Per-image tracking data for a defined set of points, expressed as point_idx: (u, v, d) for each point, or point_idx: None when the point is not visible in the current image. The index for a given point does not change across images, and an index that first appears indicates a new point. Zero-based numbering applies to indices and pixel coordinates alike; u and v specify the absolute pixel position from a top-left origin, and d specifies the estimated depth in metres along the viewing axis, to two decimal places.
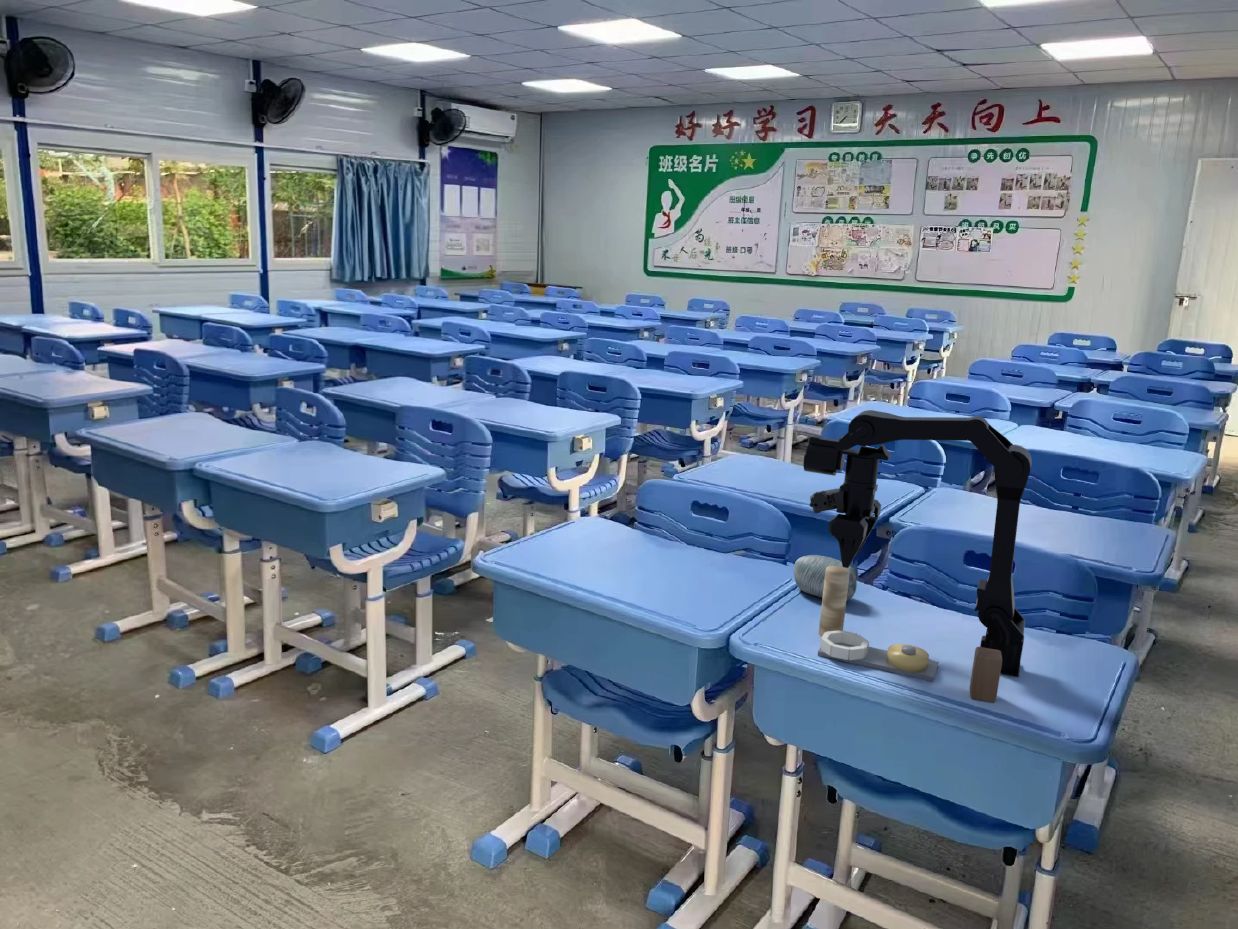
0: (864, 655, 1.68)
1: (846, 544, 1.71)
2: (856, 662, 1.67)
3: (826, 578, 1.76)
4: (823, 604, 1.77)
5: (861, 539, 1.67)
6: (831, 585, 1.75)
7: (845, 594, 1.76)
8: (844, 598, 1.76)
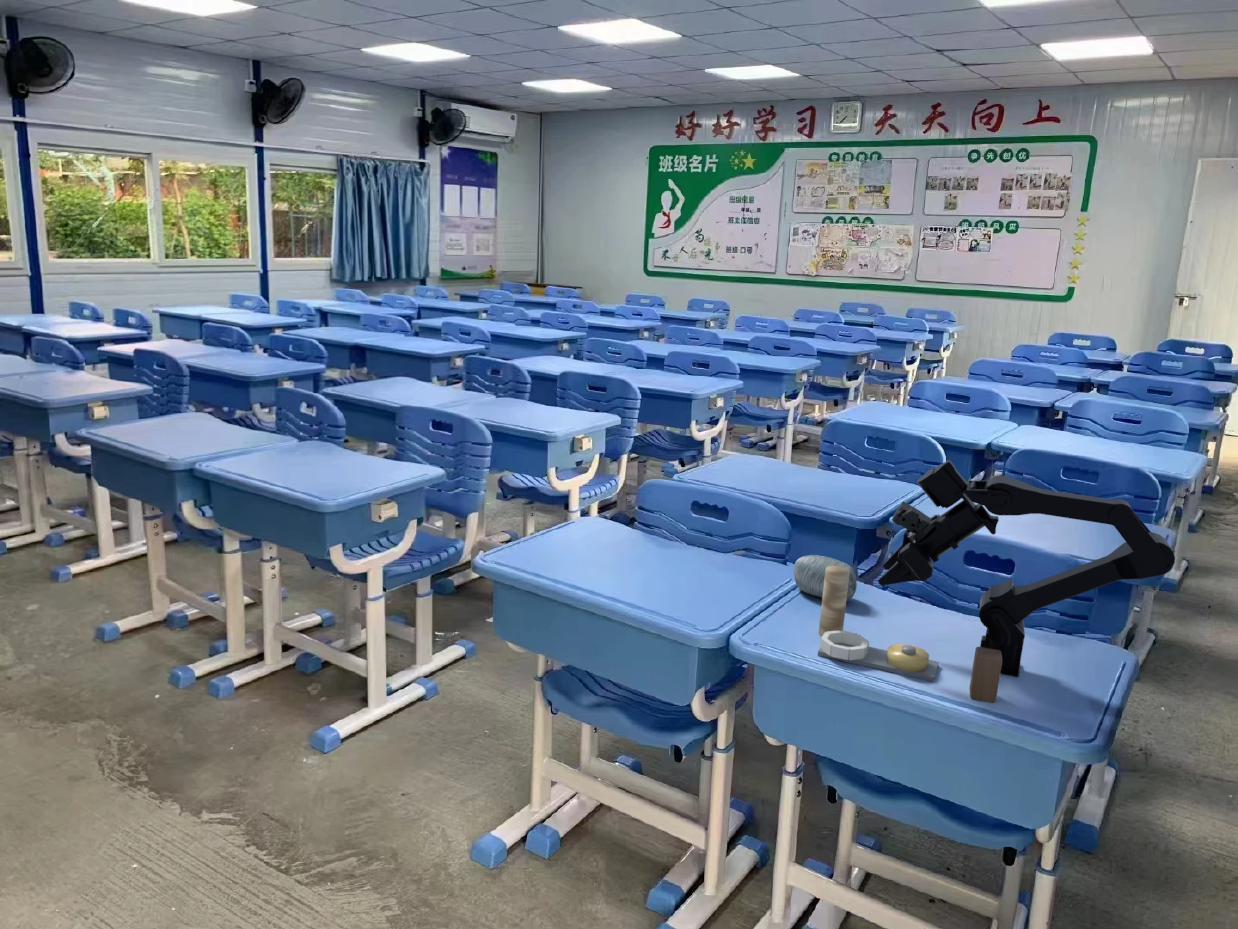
0: (864, 655, 1.68)
1: (899, 570, 1.66)
2: (856, 662, 1.67)
3: (826, 578, 1.76)
4: (823, 604, 1.77)
5: (919, 580, 1.63)
6: (830, 585, 1.75)
7: (845, 594, 1.76)
8: (844, 598, 1.76)
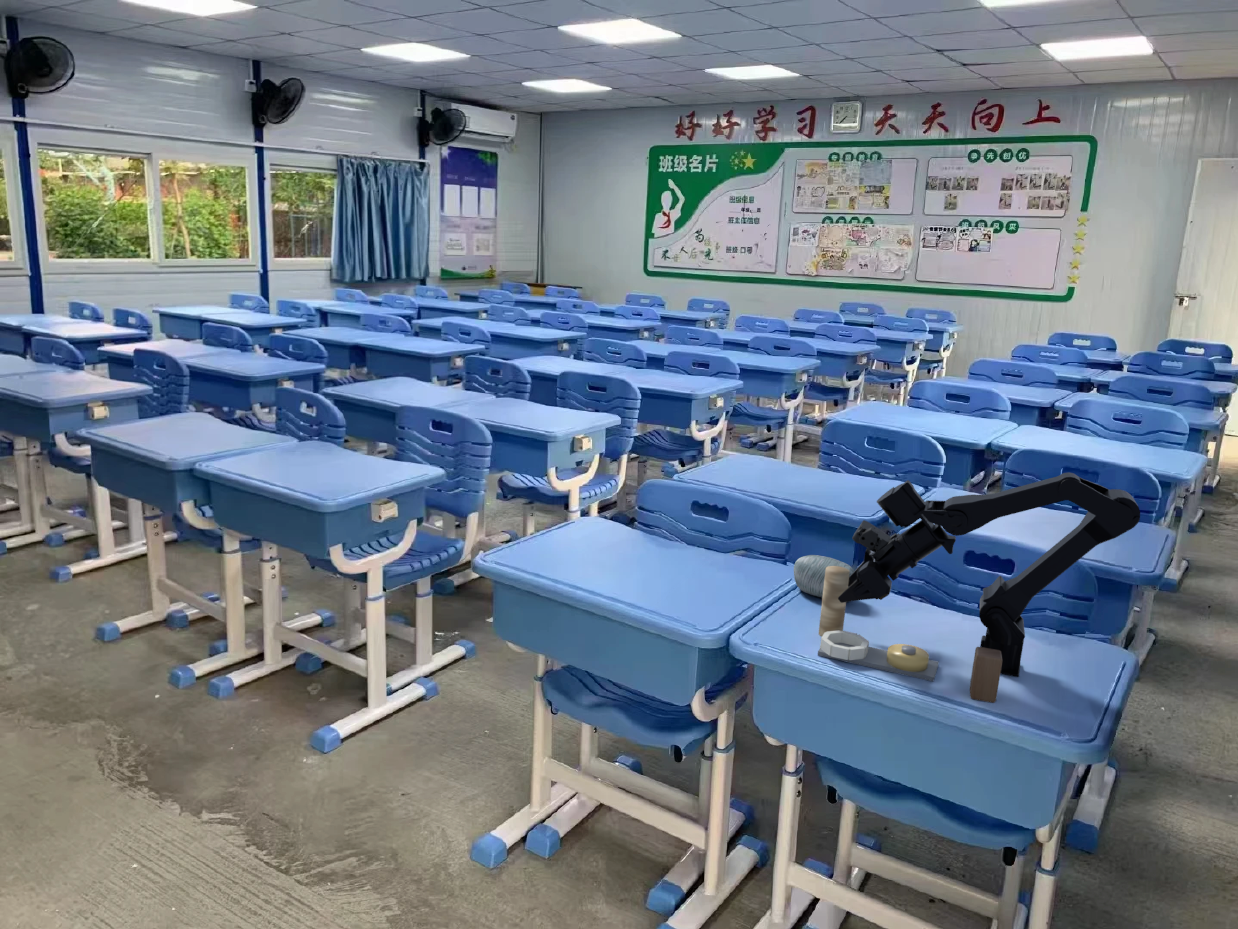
0: (864, 655, 1.68)
1: (858, 588, 1.70)
2: (856, 662, 1.67)
3: (826, 578, 1.76)
4: (823, 604, 1.77)
5: (877, 598, 1.67)
6: (830, 585, 1.75)
7: None
8: None
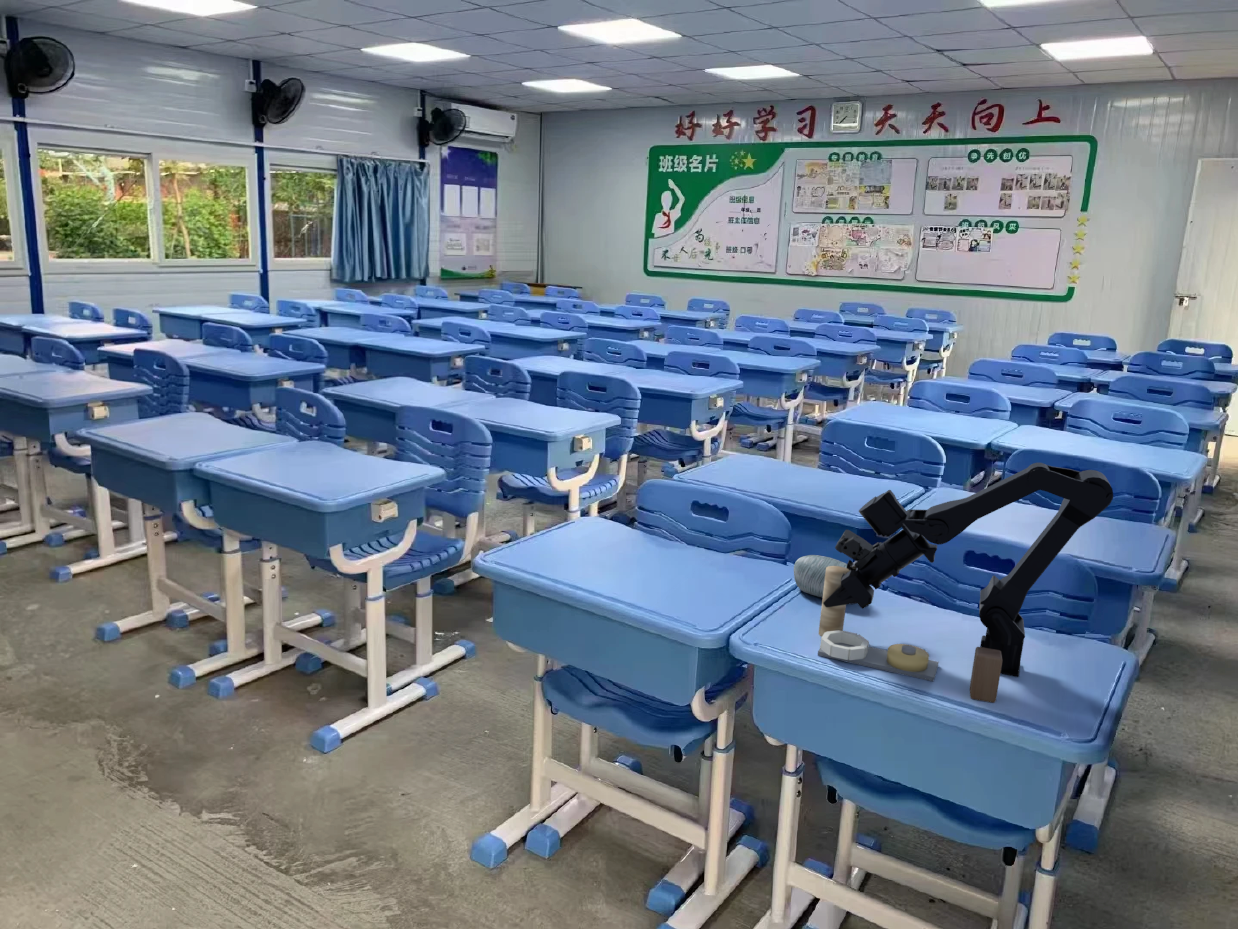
0: (864, 655, 1.68)
1: (843, 593, 1.73)
2: (856, 662, 1.67)
3: (826, 578, 1.76)
4: (823, 604, 1.77)
5: None
6: (831, 585, 1.75)
7: None
8: None
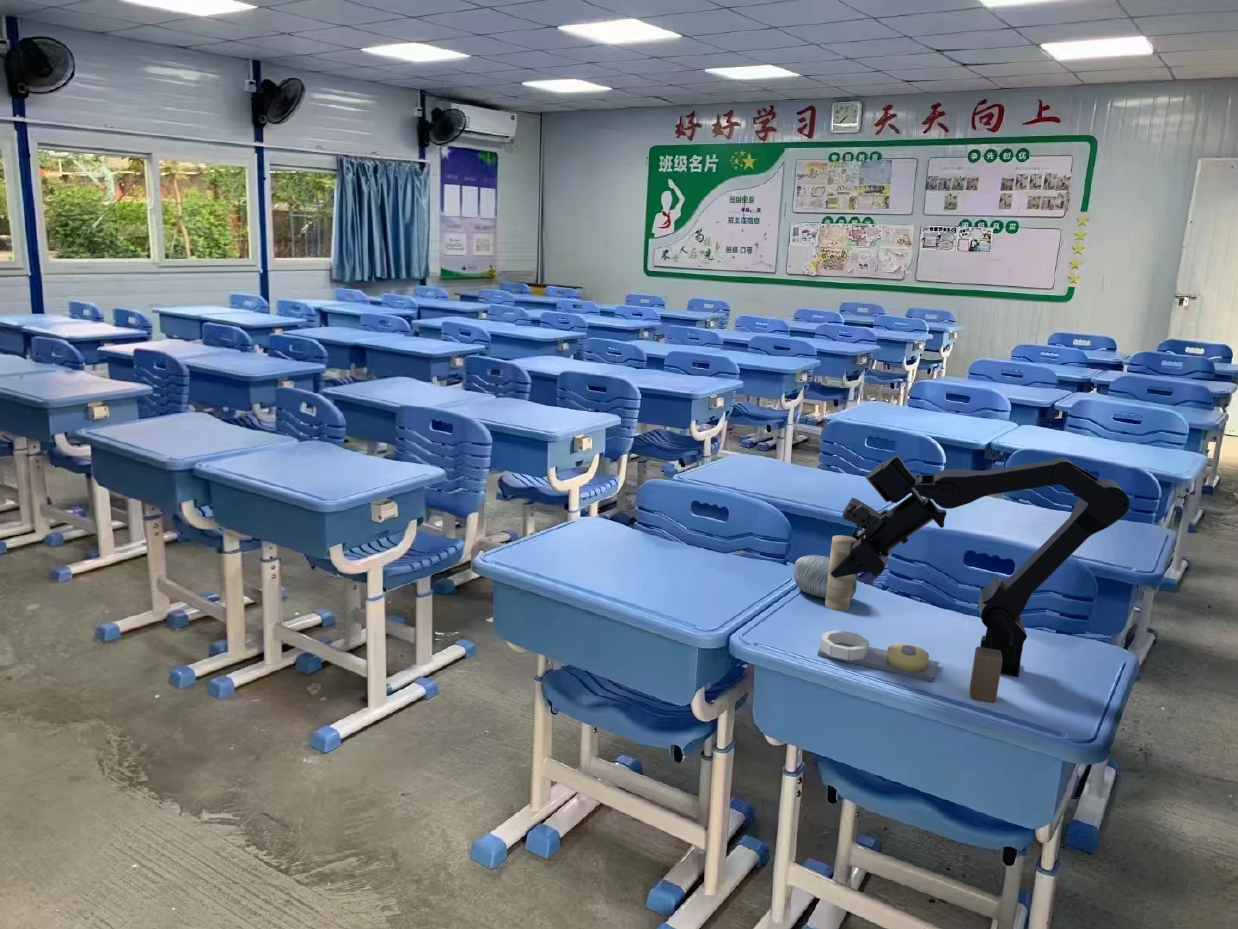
0: (864, 655, 1.68)
1: (852, 562, 1.69)
2: (856, 662, 1.67)
3: (833, 548, 1.72)
4: (830, 574, 1.73)
5: None
6: (838, 555, 1.71)
7: None
8: None
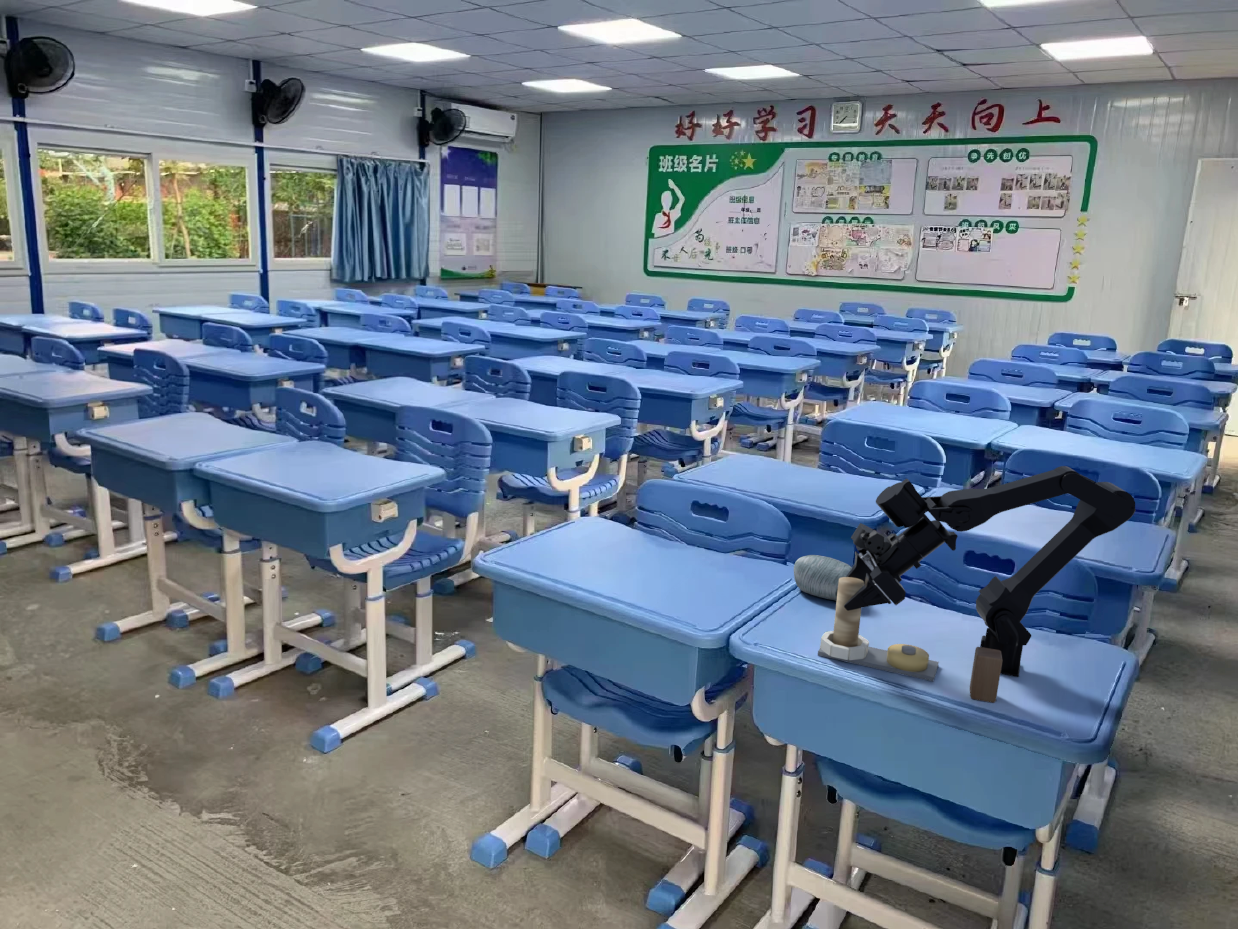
0: (864, 655, 1.68)
1: (867, 593, 1.63)
2: (856, 662, 1.67)
3: (841, 590, 1.67)
4: (838, 618, 1.68)
5: (890, 603, 1.60)
6: (848, 598, 1.67)
7: None
8: (860, 610, 1.68)
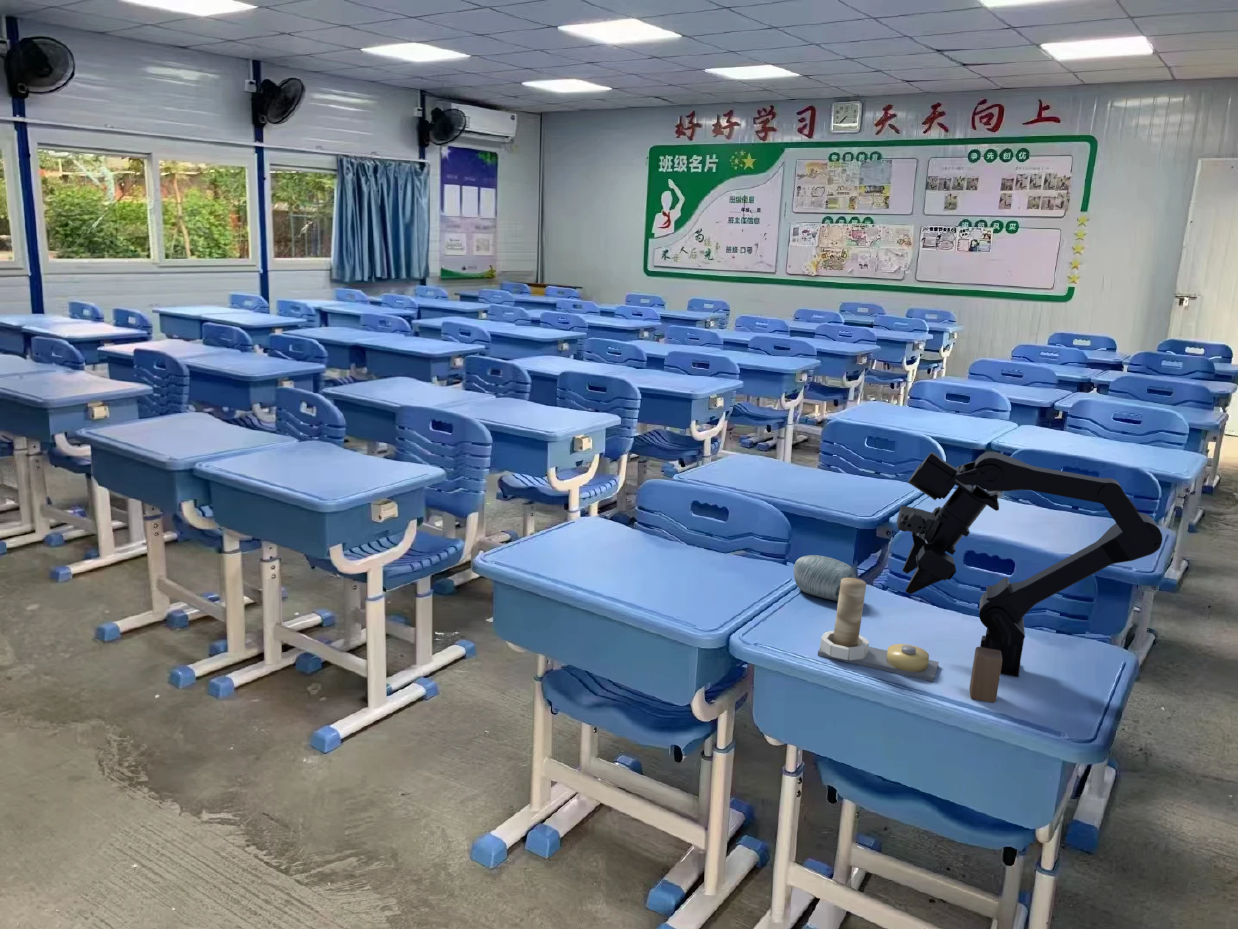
0: (864, 655, 1.68)
1: (922, 574, 1.65)
2: (856, 662, 1.67)
3: (843, 591, 1.67)
4: (839, 619, 1.68)
5: (945, 579, 1.62)
6: (849, 599, 1.66)
7: (862, 607, 1.68)
8: (861, 611, 1.68)
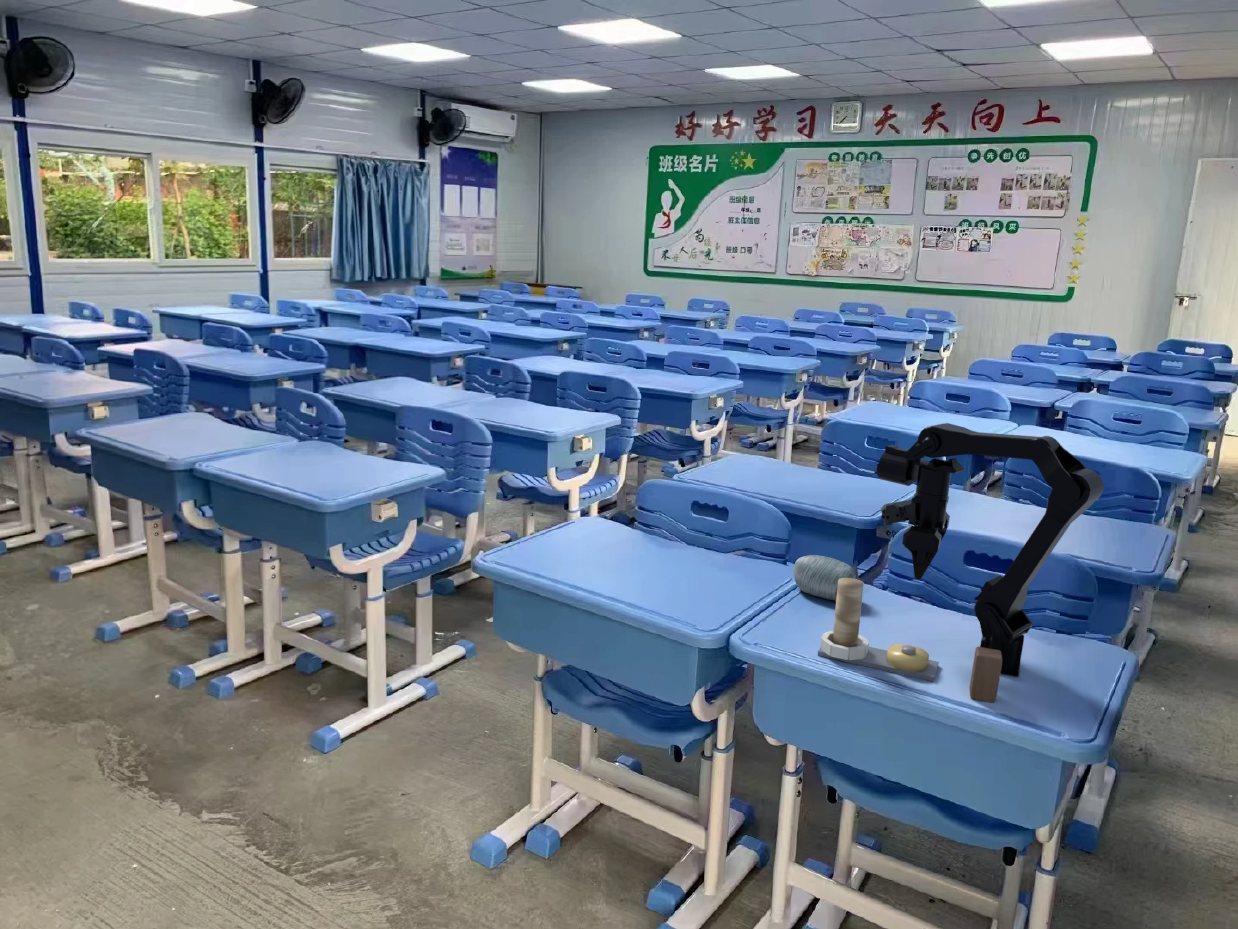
0: (864, 655, 1.68)
1: (919, 556, 1.72)
2: (856, 662, 1.67)
3: (841, 592, 1.67)
4: (838, 619, 1.68)
5: (935, 551, 1.68)
6: (847, 599, 1.66)
7: (860, 606, 1.68)
8: (860, 611, 1.68)
